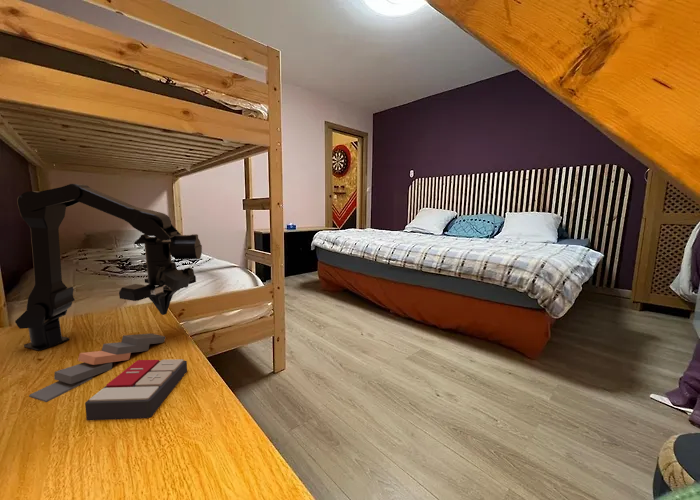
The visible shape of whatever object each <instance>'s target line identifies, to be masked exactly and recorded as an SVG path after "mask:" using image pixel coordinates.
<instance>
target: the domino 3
mask: <svg viewBox="0 0 700 500" xmlns="http://www.w3.org/2000/svg"><path fill="white" fill-rule="evenodd" d="M131 354H132V353H126V354H118V355H116V354H112V353H108V352H104V351H102V350H99V351H98V350H97V351H96V350H95V351H87V352H79V354H78V358H77V361H78V362H81V363H84V362H85V363H88V364H92V365H96V364H103V363H110V362H112V363H116V362H121V361H123V362H124V361H129V360H130V358H131Z"/></svg>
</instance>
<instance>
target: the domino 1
mask: <svg viewBox="0 0 700 500" xmlns="http://www.w3.org/2000/svg"><path fill="white" fill-rule="evenodd" d="M93 377H94V376H92V377H89V378H86V379H84V380H81V381H78V382H76V383H73V384H68V383H65V382H61V381H58V380H56V382H54V383H52V384H50V385H47V386H45V387H43V388H41V389H38V390H37V391H34V392H33V393H31V394H28V396H29V398H32V399H35V400H38V401H42V402H44V403H48V402H49V401H50V402H51V401H52V400H54V399H56V398H59V396H61V395H63V394H65V393H68V392H69V391H71V390H74V389H75V388H77V387H79V386H81V385H83V384H85V383H87V382H89V381H92V380H93V379H94V378H93Z"/></svg>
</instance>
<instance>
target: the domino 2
mask: <svg viewBox="0 0 700 500" xmlns="http://www.w3.org/2000/svg"><path fill="white" fill-rule="evenodd" d="M112 369H113V362H110V363H103V364H96V365H92V364H88V363H85V362H81V363H78V364H75V365H72V366H68V367H65V368H61V369H59V370H57V371H54V377H53V378H54V380H56V381H61V382H65V383H68V384H73V383H76V382H78V381H81V380H84V379H86V378H89V377H94V376H97V375H99V374H102V373H105V372H108V371H110V370H111V371H112Z"/></svg>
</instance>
